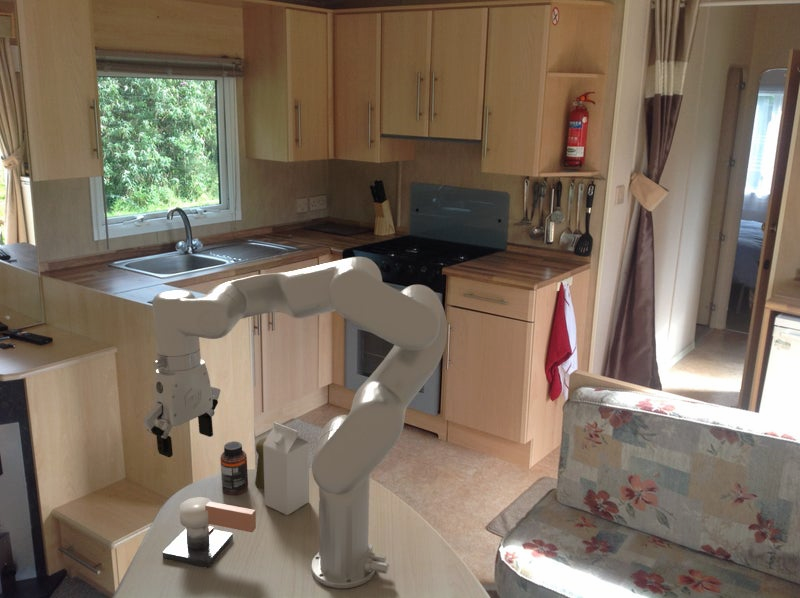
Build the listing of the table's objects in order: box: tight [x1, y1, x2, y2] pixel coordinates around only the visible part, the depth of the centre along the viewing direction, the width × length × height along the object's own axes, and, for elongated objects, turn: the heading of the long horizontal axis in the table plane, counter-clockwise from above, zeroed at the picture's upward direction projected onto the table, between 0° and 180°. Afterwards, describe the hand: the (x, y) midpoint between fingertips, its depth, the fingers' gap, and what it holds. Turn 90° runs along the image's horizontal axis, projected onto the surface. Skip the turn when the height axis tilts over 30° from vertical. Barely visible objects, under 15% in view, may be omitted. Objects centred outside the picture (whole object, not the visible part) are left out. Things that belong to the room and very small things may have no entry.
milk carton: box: [263, 421, 310, 516], centre depth 164 cm, size 7×7×19 cm
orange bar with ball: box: [179, 496, 257, 533], centre depth 146 cm, size 16×6×4 cm, turn 74°
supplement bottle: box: [220, 441, 249, 496], centre depth 171 cm, size 6×6×11 cm
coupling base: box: [162, 524, 234, 569], centre depth 149 cm, size 10×10×6 cm
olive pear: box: [254, 437, 267, 490], centre depth 174 cm, size 6×6×11 cm
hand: (186, 444), depth 139 cm, fingers open, 9 cm apart
